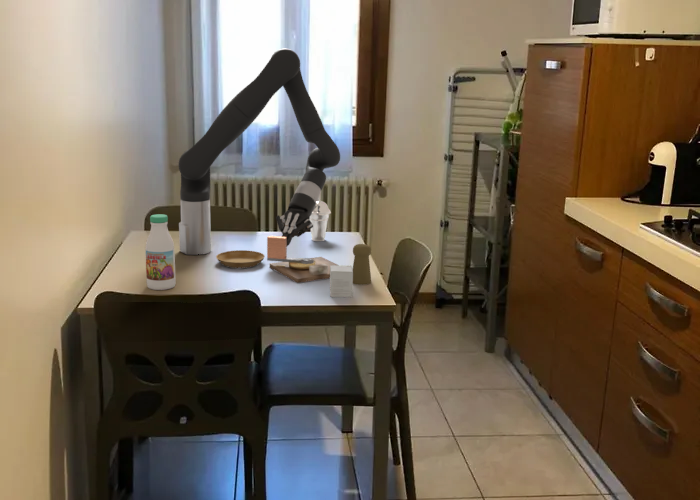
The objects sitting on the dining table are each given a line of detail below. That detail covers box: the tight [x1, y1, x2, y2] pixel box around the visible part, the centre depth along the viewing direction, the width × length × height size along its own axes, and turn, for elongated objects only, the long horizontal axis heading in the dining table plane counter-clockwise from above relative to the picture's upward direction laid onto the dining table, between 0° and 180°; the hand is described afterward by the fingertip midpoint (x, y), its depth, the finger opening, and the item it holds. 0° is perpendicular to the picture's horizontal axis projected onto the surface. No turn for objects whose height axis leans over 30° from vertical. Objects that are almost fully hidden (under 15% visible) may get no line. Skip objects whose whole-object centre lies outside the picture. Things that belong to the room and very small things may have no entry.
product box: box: [329, 264, 354, 298], centre depth 209 cm, size 6×6×7 cm
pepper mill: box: [352, 243, 372, 286], centre depth 219 cm, size 6×6×11 cm
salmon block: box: [266, 235, 315, 269], centre depth 229 cm, size 14×8×8 cm, turn 81°
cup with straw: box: [309, 193, 332, 242], centre depth 266 cm, size 8×9×20 cm
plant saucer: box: [215, 250, 265, 269], centre depth 236 cm, size 15×15×3 cm
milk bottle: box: [145, 213, 177, 291], centre depth 209 cm, size 8×8×20 cm
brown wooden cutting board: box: [269, 256, 338, 284], centre depth 229 cm, size 18×18×4 cm
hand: (283, 245), depth 230 cm, fingers closed
